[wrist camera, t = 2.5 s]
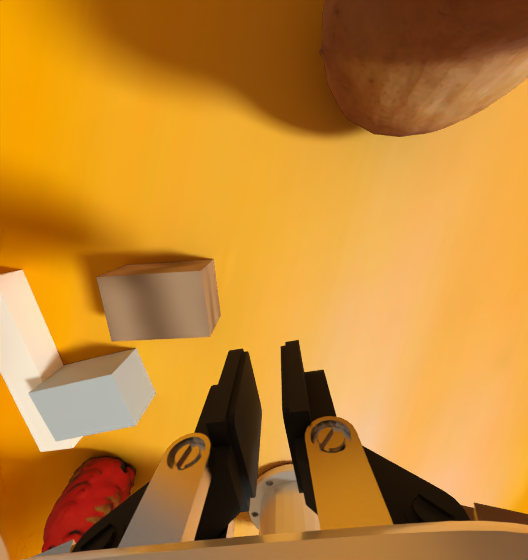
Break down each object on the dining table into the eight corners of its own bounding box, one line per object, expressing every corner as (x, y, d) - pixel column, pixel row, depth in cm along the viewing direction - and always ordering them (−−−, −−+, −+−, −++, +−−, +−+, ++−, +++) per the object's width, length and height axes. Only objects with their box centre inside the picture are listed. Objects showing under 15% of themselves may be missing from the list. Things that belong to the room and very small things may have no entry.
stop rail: (22, 269, 29) (-6, 277, 26) (90, 427, 34) (73, 447, 31) (-13, 276, 29) (-44, 284, 26) (60, 430, 35) (40, 452, 32)
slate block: (137, 347, 31) (111, 374, 26) (156, 392, 33) (135, 425, 28) (65, 364, 32) (28, 393, 27) (87, 407, 34) (55, 441, 29)
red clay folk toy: (115, 501, 37) (14, 689, 23) (71, 471, 36) (-64, 650, 22) (149, 470, 36) (62, 652, 21) (103, 438, 35) (-21, 608, 20)
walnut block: (214, 258, 28) (201, 270, 23) (220, 314, 30) (210, 336, 25) (126, 264, 28) (96, 277, 24) (138, 318, 30) (111, 341, 25)
